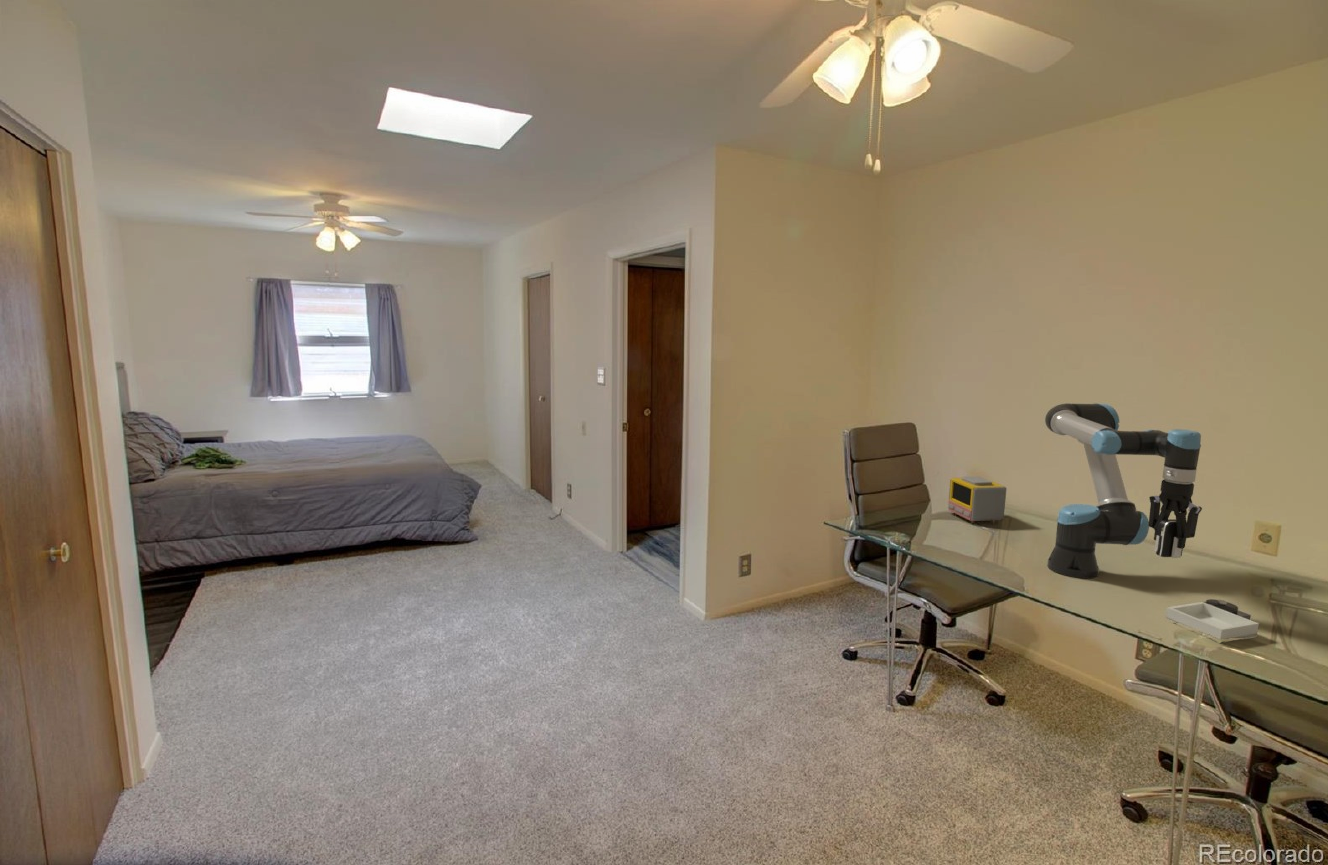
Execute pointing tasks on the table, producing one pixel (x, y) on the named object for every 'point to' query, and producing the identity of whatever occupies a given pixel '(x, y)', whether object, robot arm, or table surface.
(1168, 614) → the tray
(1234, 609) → the speaker
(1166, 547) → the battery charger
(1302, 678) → the table surface
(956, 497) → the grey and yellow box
